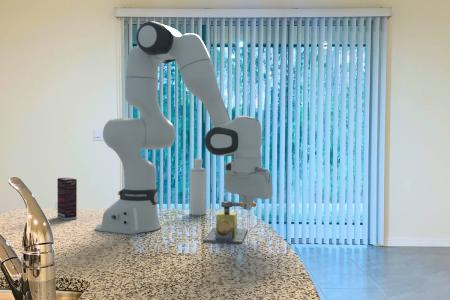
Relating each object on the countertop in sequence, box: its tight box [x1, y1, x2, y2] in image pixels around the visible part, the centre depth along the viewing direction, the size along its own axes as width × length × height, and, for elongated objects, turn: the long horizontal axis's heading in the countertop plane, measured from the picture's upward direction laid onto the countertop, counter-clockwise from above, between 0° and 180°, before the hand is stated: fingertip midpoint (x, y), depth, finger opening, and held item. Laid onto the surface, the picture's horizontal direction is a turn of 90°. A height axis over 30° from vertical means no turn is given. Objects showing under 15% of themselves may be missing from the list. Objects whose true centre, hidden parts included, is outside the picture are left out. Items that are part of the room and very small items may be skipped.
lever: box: [220, 200, 257, 208], centre depth 127 cm, size 11×4×1 cm, turn 91°
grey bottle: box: [189, 158, 207, 216], centre depth 165 cm, size 7×7×25 cm
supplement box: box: [56, 177, 78, 221], centre depth 154 cm, size 9×5×16 cm, turn 43°
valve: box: [202, 207, 248, 245], centre depth 127 cm, size 12×17×10 cm
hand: (247, 209), depth 125 cm, fingers closed
